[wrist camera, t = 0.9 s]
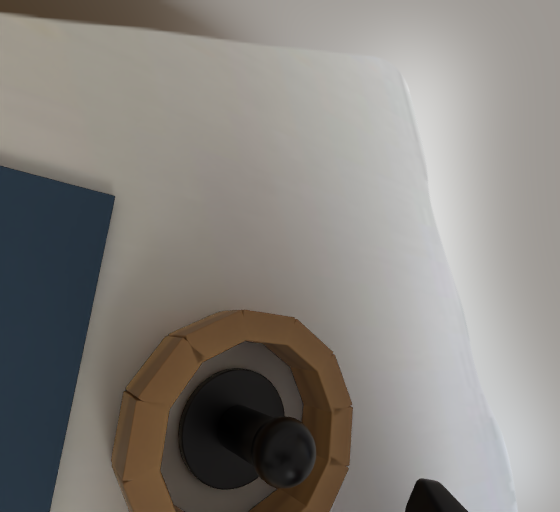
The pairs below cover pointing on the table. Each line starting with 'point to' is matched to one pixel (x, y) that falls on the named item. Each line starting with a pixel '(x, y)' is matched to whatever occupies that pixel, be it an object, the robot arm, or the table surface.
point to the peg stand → (243, 434)
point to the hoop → (180, 369)
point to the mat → (43, 323)
